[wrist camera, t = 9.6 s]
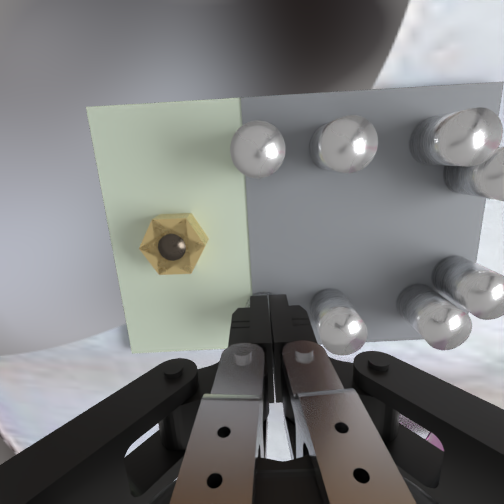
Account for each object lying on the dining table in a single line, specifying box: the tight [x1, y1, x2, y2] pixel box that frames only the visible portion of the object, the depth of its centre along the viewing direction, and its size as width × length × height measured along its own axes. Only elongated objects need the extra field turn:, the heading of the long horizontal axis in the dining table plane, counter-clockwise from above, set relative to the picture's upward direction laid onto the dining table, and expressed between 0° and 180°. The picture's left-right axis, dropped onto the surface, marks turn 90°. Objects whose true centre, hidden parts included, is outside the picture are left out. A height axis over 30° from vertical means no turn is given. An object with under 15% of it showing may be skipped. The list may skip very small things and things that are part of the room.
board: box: [86, 82, 504, 353], centre depth 28 cm, size 22×32×1 cm
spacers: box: [230, 107, 504, 355], centre depth 25 cm, size 18×21×5 cm
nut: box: [139, 213, 209, 275], centre depth 27 cm, size 5×5×2 cm
